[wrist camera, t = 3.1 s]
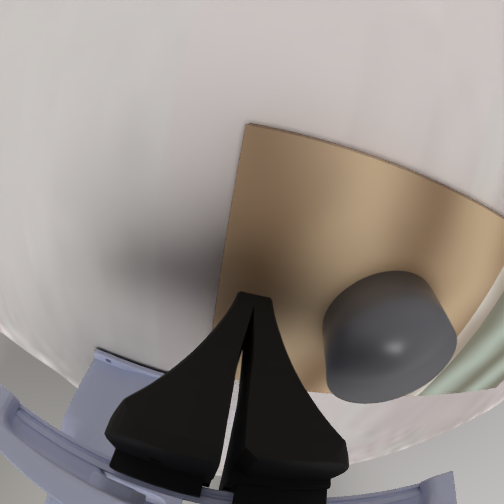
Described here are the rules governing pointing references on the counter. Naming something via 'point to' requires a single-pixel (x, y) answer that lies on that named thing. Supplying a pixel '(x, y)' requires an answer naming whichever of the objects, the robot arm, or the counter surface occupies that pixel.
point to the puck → (385, 338)
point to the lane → (359, 249)
